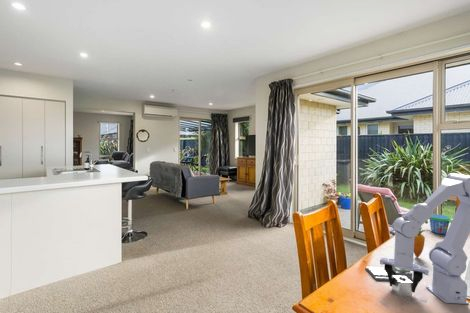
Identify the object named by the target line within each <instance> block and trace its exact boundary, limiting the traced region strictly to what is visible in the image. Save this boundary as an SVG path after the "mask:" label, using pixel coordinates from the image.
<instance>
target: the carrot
mask: <svg viewBox="0 0 470 313" xmlns="http://www.w3.org/2000/svg"><path fill="white" fill-rule="evenodd" d="M422 229H423V227H422V226H421V228H420V231H419V234H418V235H416V236H415V237H414V256H415V257H416V258H419V257H420V256H421V255H422V253H423V251H424V247H425V241H426V239H425V236H424V235H423V234H422V233H423V232H426V230H425V229H423V230H422Z"/></svg>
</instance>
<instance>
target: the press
mask: <svg viewBox="0 0 470 313" xmlns="http://www.w3.org/2000/svg"><path fill="white" fill-rule="evenodd" d="M384 267H385V266H365V267H364V269H365V270H366V271H367V272H368V273H369V275H370V276H371V277H372V278H373V279H374V280H375V281H380V282H383V281H384V282H389V278H388V275H387V273H386V271H385V268H384ZM392 275H394V276H406V277H407V278H408V279H409V280H410V281H411V282H413V272H412V271H410V272H394V271H393V270H392Z"/></svg>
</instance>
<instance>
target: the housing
mask: <svg viewBox="0 0 470 313" xmlns="http://www.w3.org/2000/svg"><path fill="white" fill-rule="evenodd" d="M391 289H392V290H393V291H394V292H395V293H396V294H397V296H399V297H413V292H412V289H413V282H411V281H410V280H409V279H408V278H407V277H406V276H394V275H392V286H391Z"/></svg>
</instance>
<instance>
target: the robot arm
mask: <svg viewBox="0 0 470 313" xmlns="http://www.w3.org/2000/svg"><path fill="white" fill-rule="evenodd" d="M452 196H453V197H454V196H456V197H457V198H458V200H459V204H458V205H457V206H458V207H457V208H456V211H455V214H454V216H453V218H452V219H451V220H452V222H450V223H449V226H448V230H447V233H446V234H445V237H444V238H443V240H442V241H438V242H436V243H435V245H434V247H432V248H431V250H429V253H428V258H429V260H430V262H432V264H431V265H432V279H431V280H432V283H431V285H425V288H426V289H427V290H429V291H430V292H431V293H432V294H434V295H435V296H436V297H437V298H439V299H440V300H441V301H442V302H444V303H446V304H461V305H469V303H470V302H469V301H468V300H467V298H468V297H467V295H468V284H467V283H466V281H465V280H464V279H462V277H461V276H462V275H463V274H464V273H465V272H466V270H467V260H468V255H467V254H466V251H464V247H465V246H466V243H467V240H468V238H469V236H470V175H469V174H462V173H458V172H450V173H448V174H447V175H446V176H445V177H444V178H443V179H441V183H440V185H439V186H438V187H437V188H436V189H435V190H434V192H433V193H431V195H430V196H429V197H428V198H427V199H426V200H425V201H424V202H422V203H421V202H419V203H416V204H413V205H412V208H410V210H408V211H407V212H406V213H405V214H403V215H402V217H401V216H400V217H397V218H396V219H395V220H394V221H393V223H392V224H391V226H392V229H393V231H394V235H395V237H394V256H393V258H389V257H382V256H381V257H380V258H379V264H380V265H381V266H382V265H384V266H383V267H384V268H385V271H386V273H387V275H388V278H389V281H388V283H389V286H390V287H392V266H393V267H397V268H401V269H406V270H410V272H412V277H413V289H412V293H415V292H416V289H417V287H418V285H419V284H420V282H421V280H422V279H423V278H424V275H425V276H429V271H430V270H429V268H428V267H425V266H422V265H419V264H416V263H414V256H415V254H414V237H415V236H416V235H418V234H419V231H420V228H421V227H422V226H423V225H424V224H426V223H425V222H426V221H427V220H428V221H429V220H430V219H429V218H431V217H432V216H433V214H434V210H435V209H436V208H438V207H439V206H440V205H441V204H443V203H445V202H446V201H447V200H448V199H450V198H451V197H452ZM422 281H423V280H422Z"/></svg>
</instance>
